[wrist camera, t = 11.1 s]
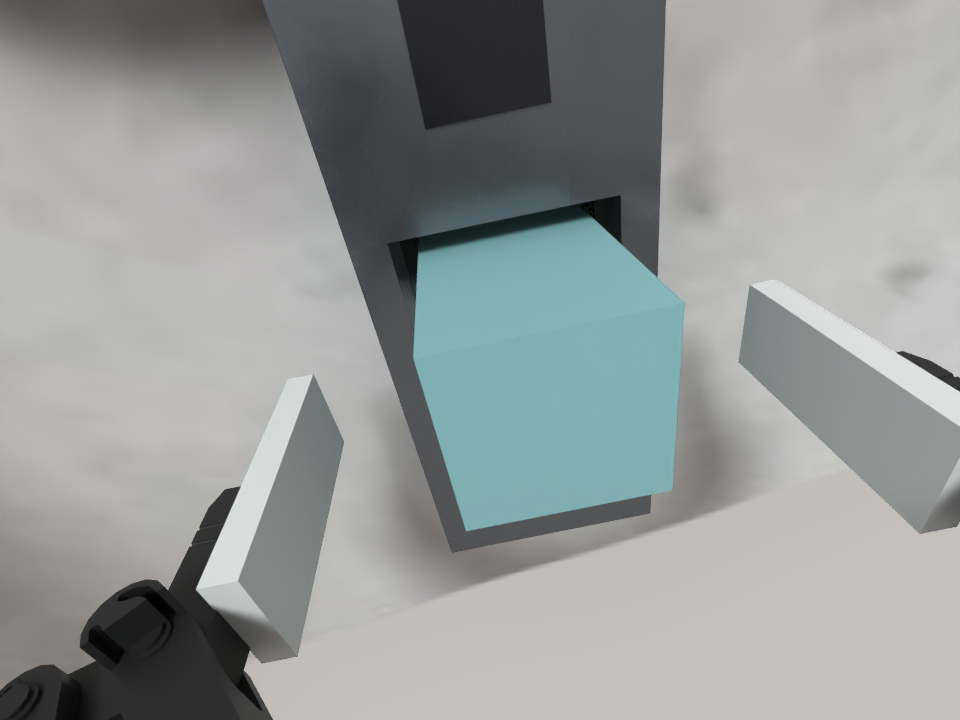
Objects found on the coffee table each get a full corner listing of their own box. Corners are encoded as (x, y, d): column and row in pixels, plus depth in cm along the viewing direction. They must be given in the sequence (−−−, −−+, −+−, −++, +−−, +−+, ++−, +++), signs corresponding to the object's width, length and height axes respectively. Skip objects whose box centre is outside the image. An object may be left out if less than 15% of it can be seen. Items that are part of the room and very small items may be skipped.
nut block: (417, 233, 18) (410, 358, 10) (575, 200, 18) (686, 302, 10) (450, 363, 21) (464, 531, 13) (584, 336, 21) (674, 489, 13)
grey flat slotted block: (266, -69, 13) (225, -104, 10) (623, -148, 13) (673, -201, 10) (449, 504, 26) (452, 553, 23) (628, 469, 26) (651, 514, 23)
